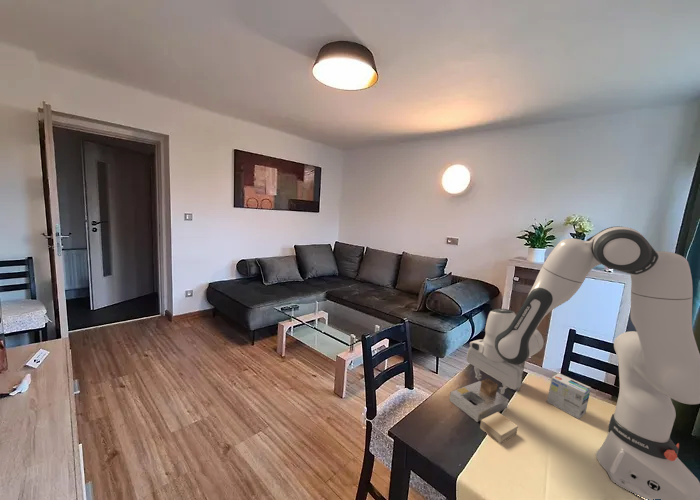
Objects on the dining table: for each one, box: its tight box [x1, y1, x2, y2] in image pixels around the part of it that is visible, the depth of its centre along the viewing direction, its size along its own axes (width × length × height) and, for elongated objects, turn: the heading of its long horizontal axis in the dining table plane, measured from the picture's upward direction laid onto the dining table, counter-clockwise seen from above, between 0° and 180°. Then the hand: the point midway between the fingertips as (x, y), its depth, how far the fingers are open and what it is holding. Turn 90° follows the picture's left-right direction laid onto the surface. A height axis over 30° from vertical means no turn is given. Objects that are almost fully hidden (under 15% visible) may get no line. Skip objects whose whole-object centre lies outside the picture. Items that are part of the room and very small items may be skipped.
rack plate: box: [448, 380, 509, 423], centre depth 107 cm, size 12×17×4 cm
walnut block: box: [480, 378, 499, 397], centre depth 109 cm, size 4×4×4 cm
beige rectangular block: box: [479, 412, 519, 445], centre depth 94 cm, size 7×9×3 cm
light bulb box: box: [546, 372, 592, 420], centre depth 108 cm, size 11×7×11 cm, turn 35°
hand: (489, 385), depth 108 cm, fingers open, 8 cm apart
